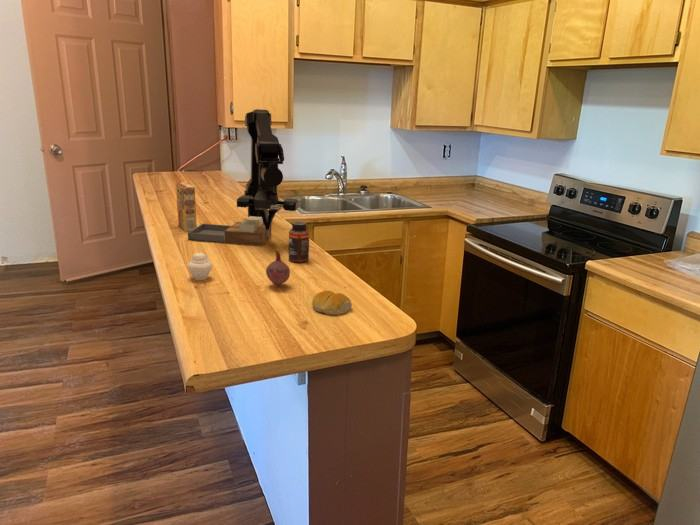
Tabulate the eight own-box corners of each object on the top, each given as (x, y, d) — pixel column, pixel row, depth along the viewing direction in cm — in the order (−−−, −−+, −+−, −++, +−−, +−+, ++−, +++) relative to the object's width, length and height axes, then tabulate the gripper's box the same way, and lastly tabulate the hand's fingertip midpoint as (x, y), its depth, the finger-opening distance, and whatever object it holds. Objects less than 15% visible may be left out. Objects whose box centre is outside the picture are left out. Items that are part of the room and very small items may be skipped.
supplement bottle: (311, 259, 160) (313, 222, 157) (303, 264, 155) (304, 226, 152) (293, 256, 162) (294, 219, 159) (284, 261, 157) (285, 223, 153)
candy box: (197, 230, 184) (195, 186, 179) (185, 232, 182) (183, 187, 177) (189, 225, 191) (187, 182, 186) (177, 226, 189) (175, 182, 184)
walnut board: (236, 233, 184) (236, 221, 182) (271, 235, 183) (271, 224, 182) (224, 243, 171) (224, 231, 170) (261, 246, 170) (261, 233, 169)
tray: (202, 230, 185) (202, 223, 184) (235, 233, 184) (235, 226, 183) (188, 240, 172) (187, 232, 171) (223, 243, 171) (223, 235, 171)
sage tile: (243, 228, 175) (243, 220, 174) (257, 229, 174) (257, 221, 174) (239, 231, 170) (239, 223, 170) (253, 232, 170) (253, 225, 169)
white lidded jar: (199, 284, 135) (198, 257, 133) (182, 278, 138) (181, 252, 136) (217, 277, 140) (217, 252, 138) (201, 272, 143) (200, 247, 141)
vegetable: (278, 280, 141) (278, 244, 138) (295, 286, 137) (296, 249, 134) (260, 286, 136) (260, 248, 133) (277, 292, 133) (278, 253, 130)
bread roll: (324, 299, 131) (325, 283, 129) (355, 308, 126) (356, 292, 125) (304, 309, 124) (304, 293, 123) (336, 319, 119) (336, 302, 118)
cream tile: (249, 223, 181) (249, 216, 181) (262, 224, 181) (262, 217, 180) (246, 226, 177) (245, 219, 176) (259, 227, 177) (259, 220, 176)
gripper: (230, 183, 160) (231, 233, 165) (292, 187, 159) (291, 238, 164) (241, 177, 171) (241, 225, 175) (299, 181, 169) (298, 229, 174)
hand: (267, 229), depth 172 cm, fingers closed
